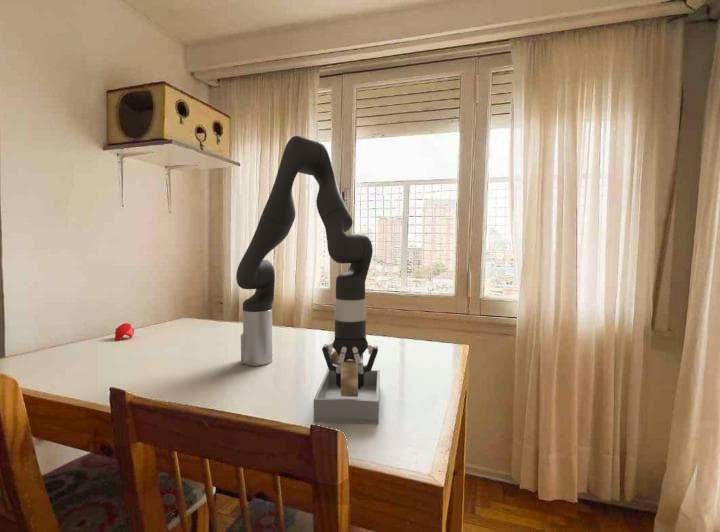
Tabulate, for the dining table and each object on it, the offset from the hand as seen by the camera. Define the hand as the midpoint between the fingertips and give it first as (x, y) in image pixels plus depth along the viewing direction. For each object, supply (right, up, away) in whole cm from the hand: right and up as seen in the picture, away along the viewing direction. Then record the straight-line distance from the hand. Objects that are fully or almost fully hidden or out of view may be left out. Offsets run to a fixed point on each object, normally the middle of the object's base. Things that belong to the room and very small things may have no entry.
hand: (350, 387), depth 91 cm
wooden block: (0, -1, 0) cm, 1 cm away
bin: (0, -4, 0) cm, 4 cm away
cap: (-93, 0, +61) cm, 112 cm away
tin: (-2, -3, +20) cm, 21 cm away
